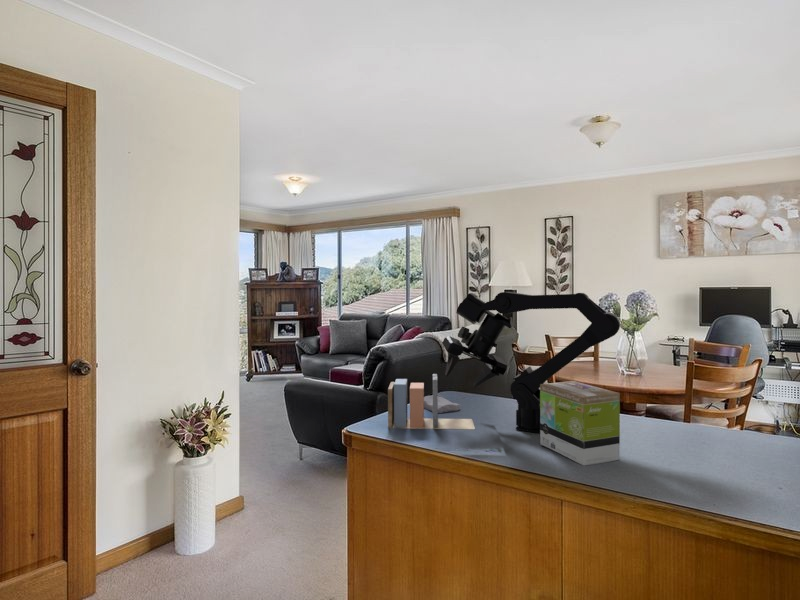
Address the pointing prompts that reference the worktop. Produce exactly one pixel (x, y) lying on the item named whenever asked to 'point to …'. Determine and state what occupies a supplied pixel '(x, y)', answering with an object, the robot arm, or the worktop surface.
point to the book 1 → (400, 403)
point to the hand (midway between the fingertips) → (460, 381)
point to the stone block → (440, 404)
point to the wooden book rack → (427, 422)
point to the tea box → (580, 421)
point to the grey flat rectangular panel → (435, 401)
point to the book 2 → (417, 405)
